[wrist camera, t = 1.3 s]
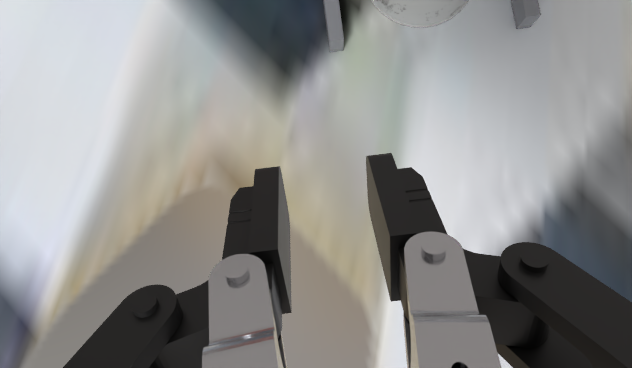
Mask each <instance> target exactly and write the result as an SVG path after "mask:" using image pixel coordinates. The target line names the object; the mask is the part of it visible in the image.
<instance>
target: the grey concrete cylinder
mask: <svg viewBox="0 0 632 368" xmlns="http://www.w3.org/2000/svg"><path fill="white" fill-rule="evenodd" d="M372 2H373V4H374V5H375V6H376V7H377V9H378V10H379V11H380V12H381V13H382V14H383V15H385V16H386V17H388V18H389V19H390V20H392V21H394V22H397V23H399V24H401V25H405V26H410V27H430V26H435V25H439V24H441V23H443V22H446V21H448V20H450V19H451V18H453V17H454V16H455V15H456V14H458V13H459V12H460V11H461V10H462V9H463V7H464V6H465V5H466V4H467V2H468V0H372Z"/></svg>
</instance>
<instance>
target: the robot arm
mask: <svg viewBox="0 0 632 368" xmlns="http://www.w3.org/2000/svg"><path fill="white" fill-rule="evenodd" d="M366 168H367V188H368V203H369V211H370V217H371V221H372V225H373V229H374V233H375V237H376V242H377V246H378V250H379V254H380V258H381V262H382V266H383V271H384V275H385V279H386V283H387V287H388V291H389V295H390V300H391V301H398V300H401V303H402V306H403V310H404V334H405V346H406V357H407V368H501V365H500V361H499V357H498V354H500V355H501V356H502V357H503V358H504V359H505V360H506V361H507V362H508V363H509V364H510V365H511V366H512V367H513V368H632V302H630V301H629V300H627V299H626V298H624V297H623V296H621V295H620V294H618V293H617V292H615V291H614V290H612V289H611V288H609V287H608V286H606V285H605V284H603V283H602V282H600V281H599V280H597V279H596V278H594V277H593V276H591V275H590V274H588V273H587V272H585V271H584V270H582V269H581V268H579V267H578V266H576V265H575V264H573V263H572V262H570V261H569V260H567V259H566V258H564V257H563V256H561V255H560V254H558V253H557V252H555V251H554V250H552V249H550V248H548V247H546V246H543V245H540V244H536V243H529V242H522V243H516V244H513V245H510V246H508V247H507V248H506V249H505V250H504V251H503V252H502V254H501V256H492V255H484V254H478V253H473V252H470V251H467V250H465V249H463V248H462V246H461V245H460V243H459V242H458V241H457V240H456V239H454V238H453V237H451V236H449V235H448V234H447V232H446V230H445V228H444V225H443V223H442V221H441V218H440V216H439V214H438V211H437V209H436V207H435V205H434V202H433V200H432V198H431V195H430V193H429V191H428V189H427V186H426V184H425V181H424V179H423V177H422V176H421V175H420V174H418V173H417V172H416V171H415V170H414V169H412V168H403V169H397V167H396V164H395V161H394V158H393V156H392V154H391V153H387V154H379V155H371V156H367V157H366ZM284 313H291V265H290V222H289V213H288V206H287V201H286V195H285V190H284V184H283V179H282V173H281V169H280V166H279V167H271V168H262V169H255V175H254V186H252V187H244V188H239V190H238V191H237V192H236V194H235V195H234V196H233V198H232V199H231V203H230V210H229V217H228V225H227V230H226V237H225V244H224V250H223V257H222V261H220V262H219V263H218V264H217V265H216V266H215V267H214V268H213V269H212V271H211V272H210V275H209V280H208V281H206V282H205V283H203V284H201V285H200V286H197V287H195V288H192V289H190V290H187V291H184V292H182V293H179V294H177V295H175V293H174V291H173V290H172V289H170V288H169V287H167V286H164V285H150V286H146V287H143V288H140V289H138V290H136V291H135V292H133V293H132V294H130V295H129V296H127V298H125V299H124V300H123V301H122V302H121V304H120V305H119V306H118V307H117V308H116V309H115V310H114V311H113V312H112V314H111V315H110V316H109V317H108V318H107V319H106V320H105V321H104V322H103V324H102V325H101V326H100V327H99V328H98V329H97V330H96V331H95V332H94V334H93V335H92V336H91V337H90V338H89V339H88V340H87V341H86V343H85V344H84V345H83V346H82V347H81V348H80V349H79V350H78V351H77V353H76V354H75V355H74V356H73V357H72V358H71V360H69V362H68V363H67V364H66V365H65V366H64V367H63V368H287V363H286V357H285V351H284V345H283V339H282V334H281V330H282V314H284Z"/></svg>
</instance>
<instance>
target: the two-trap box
mask: <svg viewBox="0 0 632 368" xmlns="http://www.w3.org/2000/svg"><path fill="white" fill-rule="evenodd" d="M511 4H512V9H513V14H514V19H515V24H516V29H518V28H526V27H531V26H532V25H533V23H534V22H535V21H536V20H537V19H538V18H539V17H540V15H541V13H540V8H539V4H538V0H511ZM323 5H324V13H325V20H326V28H327V36H328V44H329V52H334V51H342V50H343V48H344V36H343V29H342V21H341V14H340V6H339V0H323Z"/></svg>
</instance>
